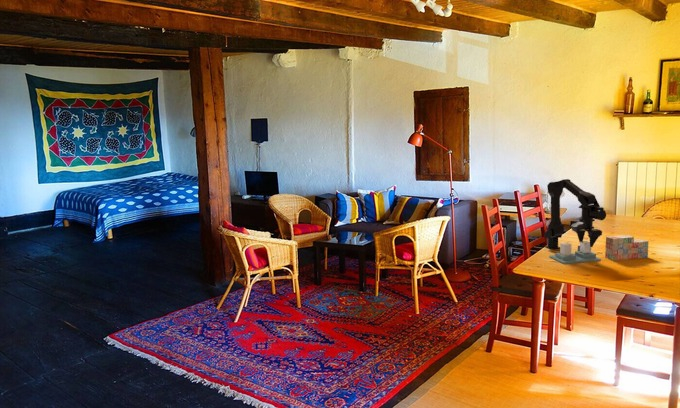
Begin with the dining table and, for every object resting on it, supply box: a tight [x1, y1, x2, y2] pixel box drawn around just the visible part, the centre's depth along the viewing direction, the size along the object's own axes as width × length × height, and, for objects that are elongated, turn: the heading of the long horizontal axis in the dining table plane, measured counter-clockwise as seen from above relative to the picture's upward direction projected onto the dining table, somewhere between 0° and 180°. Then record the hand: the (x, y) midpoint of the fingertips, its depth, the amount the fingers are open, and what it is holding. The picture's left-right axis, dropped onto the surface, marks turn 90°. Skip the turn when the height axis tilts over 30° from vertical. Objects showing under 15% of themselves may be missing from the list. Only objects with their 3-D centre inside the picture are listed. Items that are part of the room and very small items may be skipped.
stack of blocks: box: [604, 234, 649, 261], centre depth 294 cm, size 21×6×12 cm, turn 99°
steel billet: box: [579, 240, 592, 254], centre depth 296 cm, size 4×4×8 cm
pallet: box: [548, 242, 602, 265], centre depth 295 cm, size 14×22×9 cm, turn 100°
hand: (586, 245), depth 295 cm, fingers open, 9 cm apart
